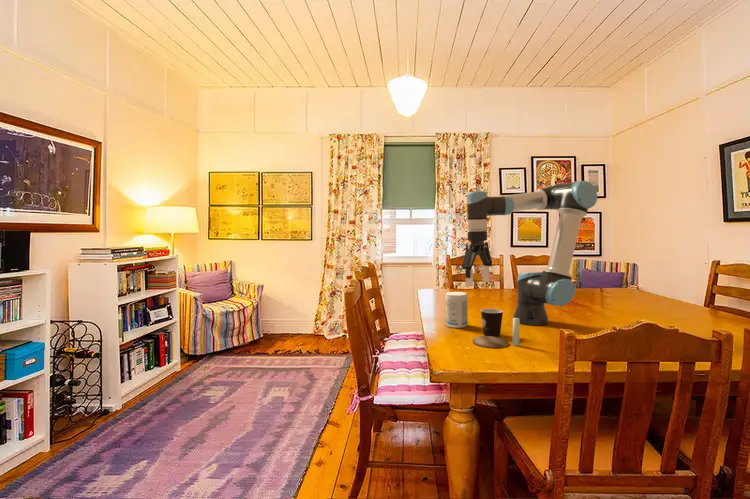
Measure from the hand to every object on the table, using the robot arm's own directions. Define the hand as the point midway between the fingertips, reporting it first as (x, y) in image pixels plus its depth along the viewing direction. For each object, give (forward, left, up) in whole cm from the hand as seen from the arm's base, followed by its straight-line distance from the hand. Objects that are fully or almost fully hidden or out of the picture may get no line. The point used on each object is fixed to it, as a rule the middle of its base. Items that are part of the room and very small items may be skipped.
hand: (477, 284), depth 154 cm
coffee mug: (-7, -1, -22) cm, 23 cm away
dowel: (-6, +15, -21) cm, 27 cm away
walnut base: (+1, +9, -21) cm, 23 cm away
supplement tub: (-1, -18, -22) cm, 28 cm away
